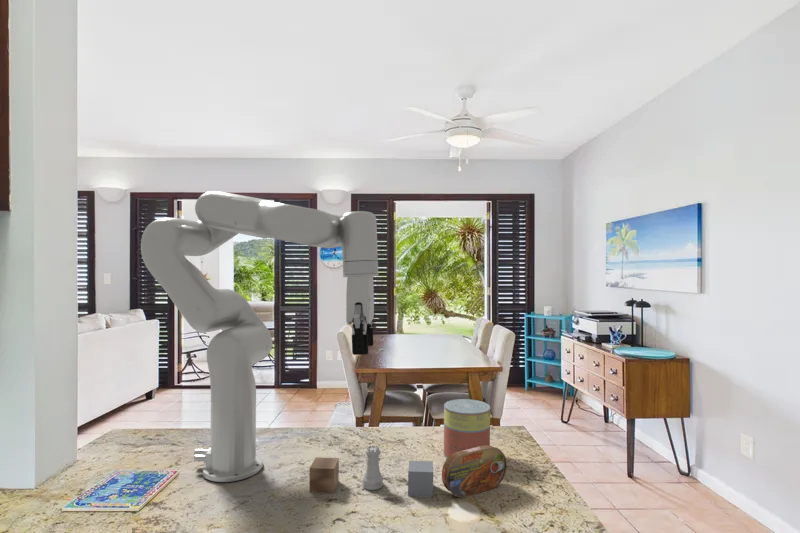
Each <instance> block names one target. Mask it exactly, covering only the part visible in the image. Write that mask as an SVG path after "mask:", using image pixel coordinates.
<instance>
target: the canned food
mask: <svg viewBox="0 0 800 533" xmlns="http://www.w3.org/2000/svg"><path fill="white" fill-rule="evenodd" d="M483 445H489V446H491V405H490V404H488V403H486V402H485V401H481V400H477V399H470V398H469V399H468V398H458V399H457V398H455V399H450V400H448V401H446V402H444V403H443V453H442V454H443V457H444V458H445V459H447V458H448V457H449V456H450V455H451V454H453V453H455V452H458V451H463V450H467V449H471V448H475V447H479V446H483Z"/></svg>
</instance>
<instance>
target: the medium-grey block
mask: <svg viewBox="0 0 800 533" xmlns="http://www.w3.org/2000/svg"><path fill="white" fill-rule="evenodd" d="M407 470H408V471H407V473H408V474H407V475H408V476H407V496H408V497H422V498H424V497H425V498H426V497H427V498H434V462H433V460H432V461H430V460H408V469H407Z"/></svg>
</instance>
